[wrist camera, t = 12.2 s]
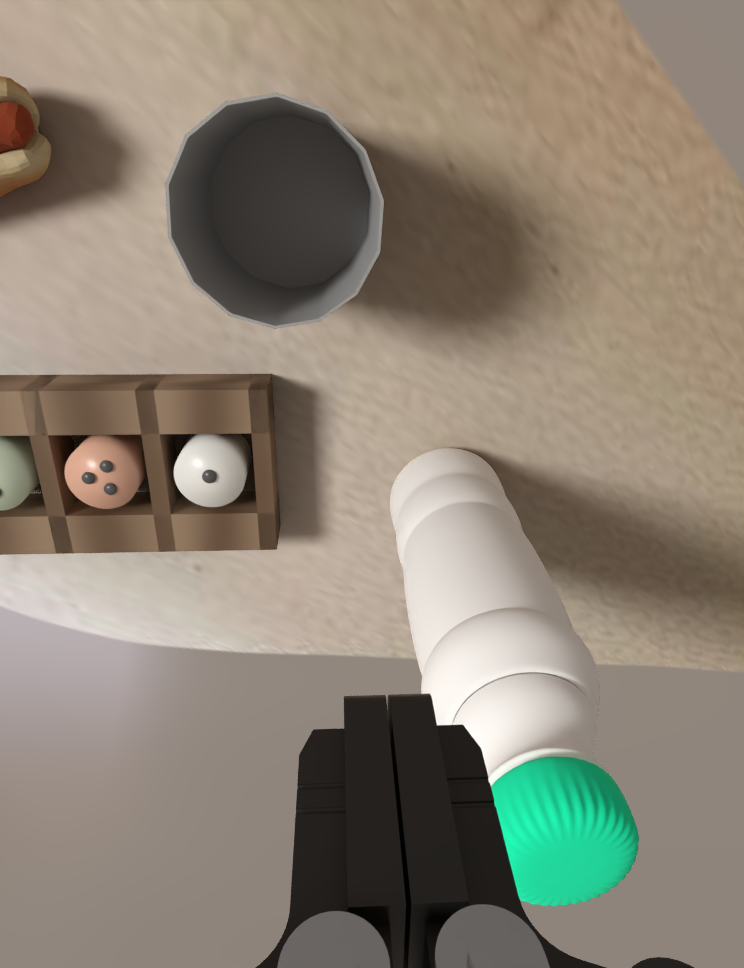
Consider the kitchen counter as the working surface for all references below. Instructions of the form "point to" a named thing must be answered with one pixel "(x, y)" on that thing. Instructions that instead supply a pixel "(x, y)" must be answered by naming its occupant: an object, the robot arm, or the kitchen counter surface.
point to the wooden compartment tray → (157, 417)
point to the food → (20, 138)
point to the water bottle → (510, 676)
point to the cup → (274, 210)
